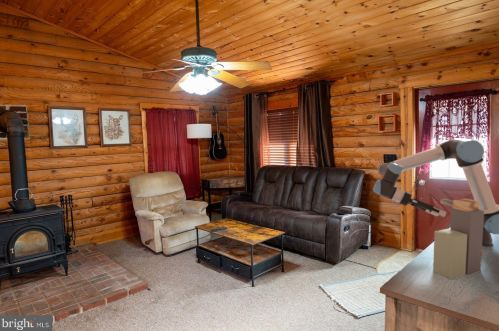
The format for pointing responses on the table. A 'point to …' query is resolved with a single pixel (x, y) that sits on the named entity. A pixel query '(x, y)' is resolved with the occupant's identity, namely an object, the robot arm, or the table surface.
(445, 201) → the handle block
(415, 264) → the table surface
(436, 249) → the low stand
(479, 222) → the tall stand
